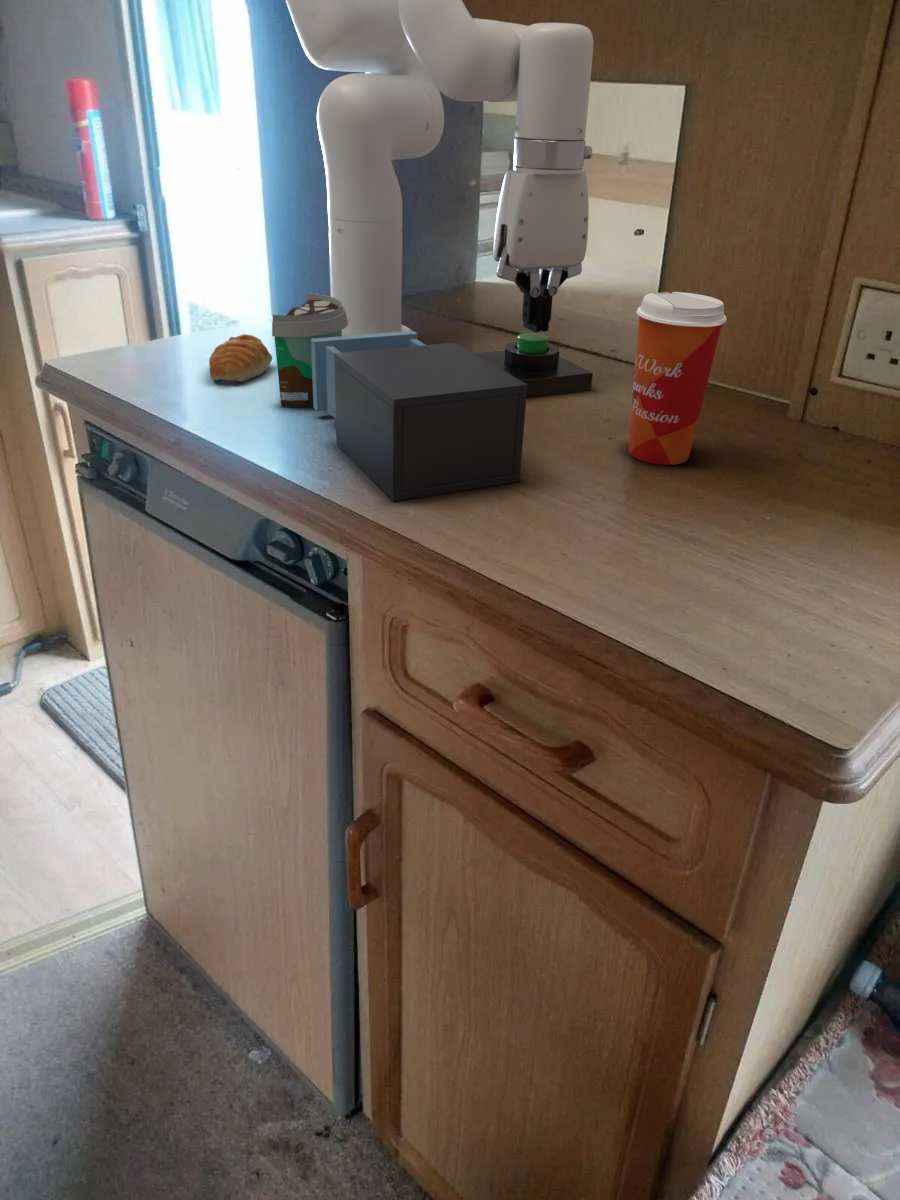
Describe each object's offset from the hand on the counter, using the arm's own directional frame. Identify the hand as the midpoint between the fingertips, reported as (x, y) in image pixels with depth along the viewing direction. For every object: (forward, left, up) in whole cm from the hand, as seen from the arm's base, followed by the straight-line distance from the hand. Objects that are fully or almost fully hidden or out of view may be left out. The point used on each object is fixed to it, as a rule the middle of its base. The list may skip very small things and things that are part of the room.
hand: (535, 328), depth 108 cm
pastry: (-14, -32, -7) cm, 36 cm away
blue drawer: (+8, -23, -5) cm, 25 cm away
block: (0, 0, -6) cm, 6 cm away
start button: (0, 0, -3) cm, 3 cm away
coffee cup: (+26, 0, -7) cm, 27 cm away
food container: (-3, -26, -7) cm, 27 cm away
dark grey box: (+20, -23, -6) cm, 31 cm away
